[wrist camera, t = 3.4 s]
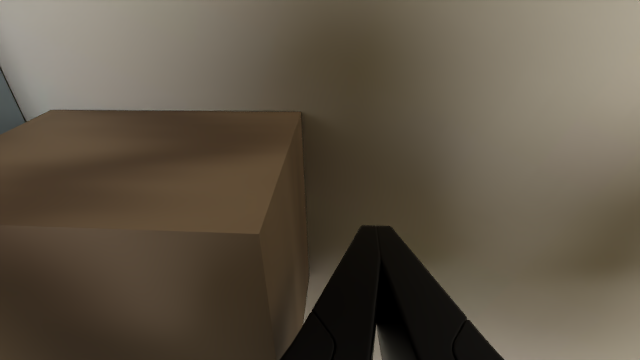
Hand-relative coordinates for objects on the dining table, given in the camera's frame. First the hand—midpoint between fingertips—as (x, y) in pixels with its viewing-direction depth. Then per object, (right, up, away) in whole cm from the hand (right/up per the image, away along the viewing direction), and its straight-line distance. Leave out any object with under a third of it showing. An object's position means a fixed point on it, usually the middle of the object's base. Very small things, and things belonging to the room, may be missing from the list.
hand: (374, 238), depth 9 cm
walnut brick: (-5, +1, +2) cm, 6 cm away
